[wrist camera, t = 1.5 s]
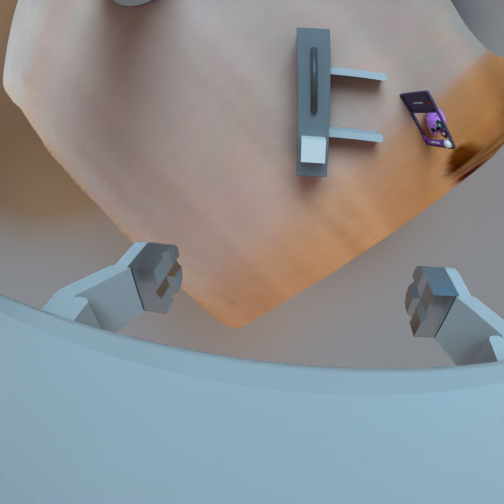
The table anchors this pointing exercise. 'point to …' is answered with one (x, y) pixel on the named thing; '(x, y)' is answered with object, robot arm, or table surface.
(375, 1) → the table surface
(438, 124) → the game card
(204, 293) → the table surface
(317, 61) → the charging dock
